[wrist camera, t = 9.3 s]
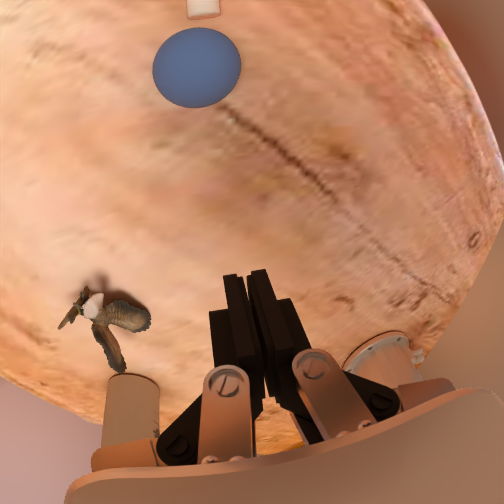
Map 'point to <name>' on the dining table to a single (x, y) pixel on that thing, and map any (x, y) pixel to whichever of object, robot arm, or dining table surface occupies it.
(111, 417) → the travel mug
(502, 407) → the robot arm
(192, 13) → the pin
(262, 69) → the dining table surface
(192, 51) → the ball
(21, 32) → the dining table surface
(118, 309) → the eagle figurine
